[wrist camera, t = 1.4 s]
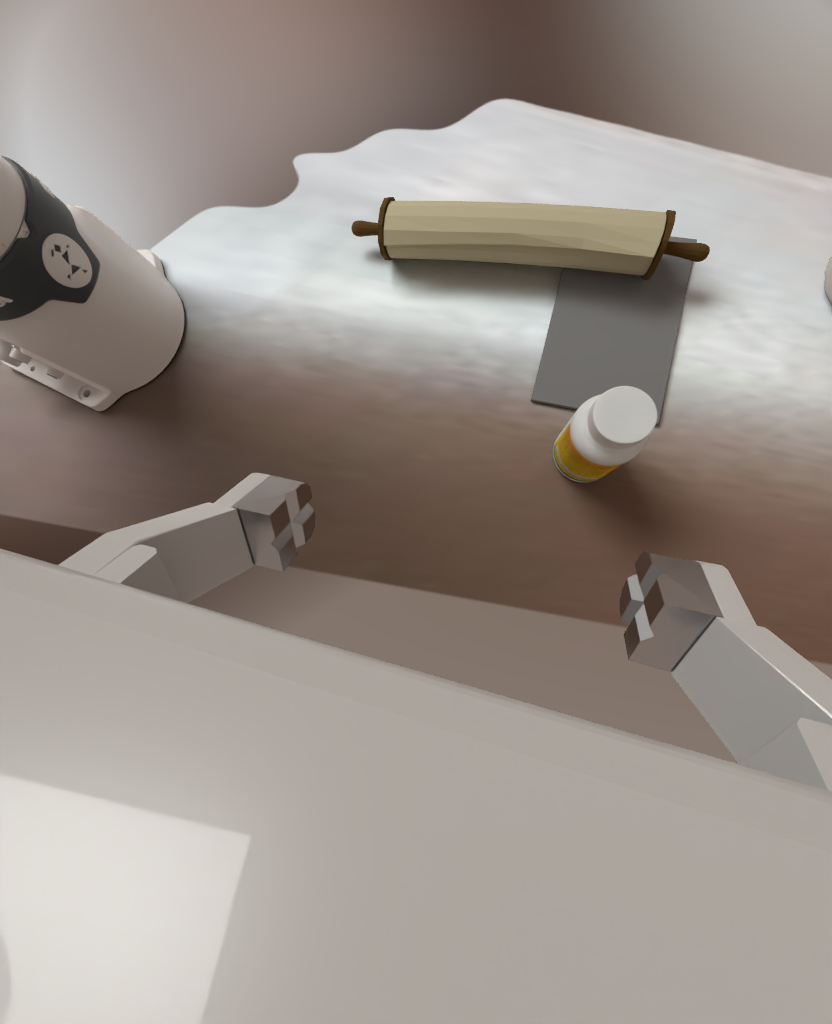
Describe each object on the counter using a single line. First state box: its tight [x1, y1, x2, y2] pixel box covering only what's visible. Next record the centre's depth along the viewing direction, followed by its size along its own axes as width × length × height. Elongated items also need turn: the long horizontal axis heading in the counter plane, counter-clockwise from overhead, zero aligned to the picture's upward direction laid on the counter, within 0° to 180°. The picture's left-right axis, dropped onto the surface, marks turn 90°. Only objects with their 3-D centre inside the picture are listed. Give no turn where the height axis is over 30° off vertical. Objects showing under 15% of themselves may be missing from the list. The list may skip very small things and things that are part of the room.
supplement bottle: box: [553, 386, 657, 482], centre depth 30 cm, size 5×5×10 cm
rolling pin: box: [352, 197, 710, 280], centre depth 35 cm, size 32×6×5 cm, turn 76°
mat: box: [531, 237, 697, 425], centre depth 35 cm, size 11×18×1 cm, turn 165°
